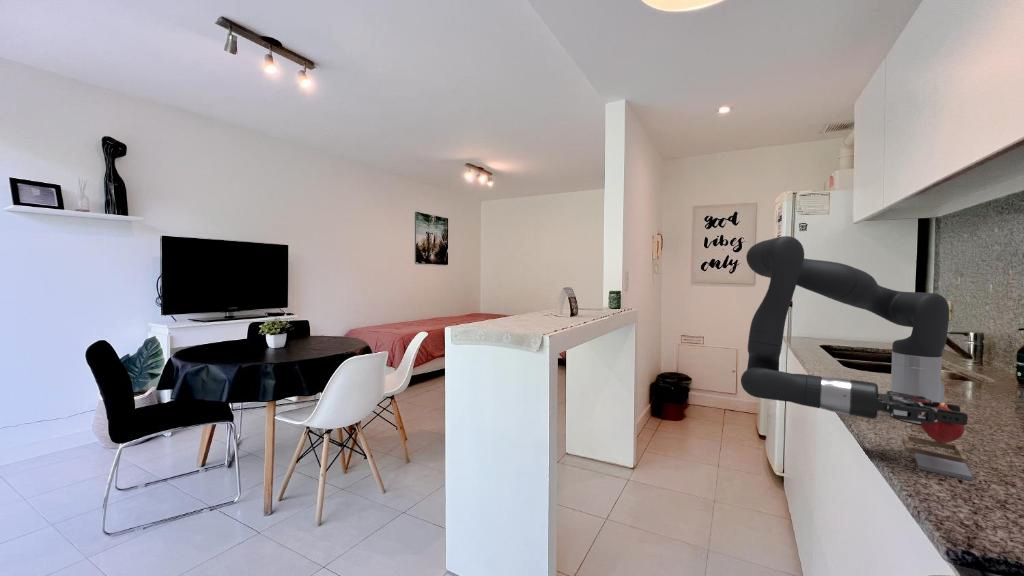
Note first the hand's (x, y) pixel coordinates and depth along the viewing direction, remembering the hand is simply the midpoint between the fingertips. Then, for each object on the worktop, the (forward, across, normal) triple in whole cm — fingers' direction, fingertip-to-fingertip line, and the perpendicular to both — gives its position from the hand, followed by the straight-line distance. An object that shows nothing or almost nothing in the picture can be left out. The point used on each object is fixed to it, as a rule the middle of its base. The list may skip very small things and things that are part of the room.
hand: (962, 415), depth 77 cm
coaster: (-2, 0, +11) cm, 11 cm away
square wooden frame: (-2, +10, +11) cm, 15 cm away
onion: (-3, 0, +6) cm, 7 cm away
